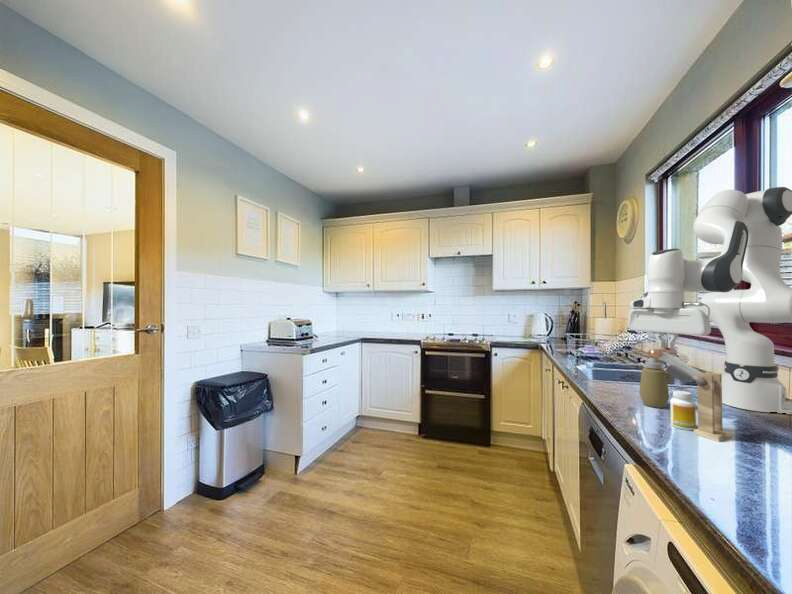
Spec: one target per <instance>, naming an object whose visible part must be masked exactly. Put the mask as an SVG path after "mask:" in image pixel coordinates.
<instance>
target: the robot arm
mask: <svg viewBox="0 0 792 594" xmlns="http://www.w3.org/2000/svg"><path fill="white" fill-rule="evenodd" d="M791 216H792V189H790V188H788V187H786V186H778V187H777V186H776V187H769V188H767V189H764V190H758V191H754V192H749V193H746V194H745V193H744V192H743V191H740V190H737V189H726V190H722V191H719V192H717V193H716V194H715V195H713V196H712V198H710V199H709V200H708V201H707V202H706V203H705V205H704V206H703V207H702V209H701V210H700V211H699V213H698V215H697V216H696V218H694V221H693V225H692V230H693V233H694V235H695V236H696V237H697V238H698V239H699V240H701V241H702V242H705V243H707V244H711V245H722V248H721V251H720V254H718V255H717V256H714V257H710V258H704V259H695V260H694V259H693V260H688V259H686V258H685V257H684V255H683V254H684V253H683V251H682V249H680V248H670V249H662V250H655V251H654V252H652V253H650V255H649V257H648V262H647V273H646V274H647V276H646V277H647V282H648V289H647V296H645V297H640V298H639V299H635V300H632V301H630V302H629V304H630V308H631V309H630V310H629V311H628V316H627V317H628V318H627V328H628V329H629V330H630V331H634V332H647V333H648V332H649V333H654V337H655V338H656V340H657V342H658V347H659V349H663V348H669V349H673V348H674V346H675V345H674V343H676V340H677V339H678V338H679V335H686V336H687V335H690V336H701V337H703V336H708V335H710V334H711V332H712V328H711V322H712V323H713V324H714V325H715V326H716V327H717V328H718V329H719V331H720V333H721V335H722V337H723V340H724V346H725V347H724V348H725V360H726V361H724V364H723V368H724V369H723V370H724V372H725V373H724V374H722V404H724V405H727V406H729V407H734V408H738V409H743V410H748V411H753V412H762V413H770V412H777V413H776V414H782V413H786V414H785V415H792V401H791V400H790V401H789V400H788V397H787V388H786V386H785V385H784V384H783V383H782V381H780V380H779V378H778V377H779V374H778V371H779V369H780V368H779V365H775V345H774V343H773V341H772V340H771V339H770V338H769V337H767V336H765V335H763V334H761V333H759V332H756V331H754V330H753V328H752V327H751V325H750V323H764V324H780V323H781V324H783V323H792V287H791V286H789V285H788V284H787V283H786V282H785V281H784V279H783V277H782V275H781V257H782V251H783V233H782V228H781V227H780V226H782V225H783V224H785V223H786V222H787V220H788V219H789V218H791ZM742 281H744V282H746V283H749V284H750V288H748V289H735V288H736V287H737V286H739V285H740V284H741V283H742ZM687 292H690V293H694V292H696V293H698V292H701V293H702V292H705V293H704V294H703V295H702V296H701V298H700V299H699V302H692V301H691V302H686V293H687ZM665 334H668V338H669V339H668V341H665V339H664V338H663V337H664V336H665Z"/></svg>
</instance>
